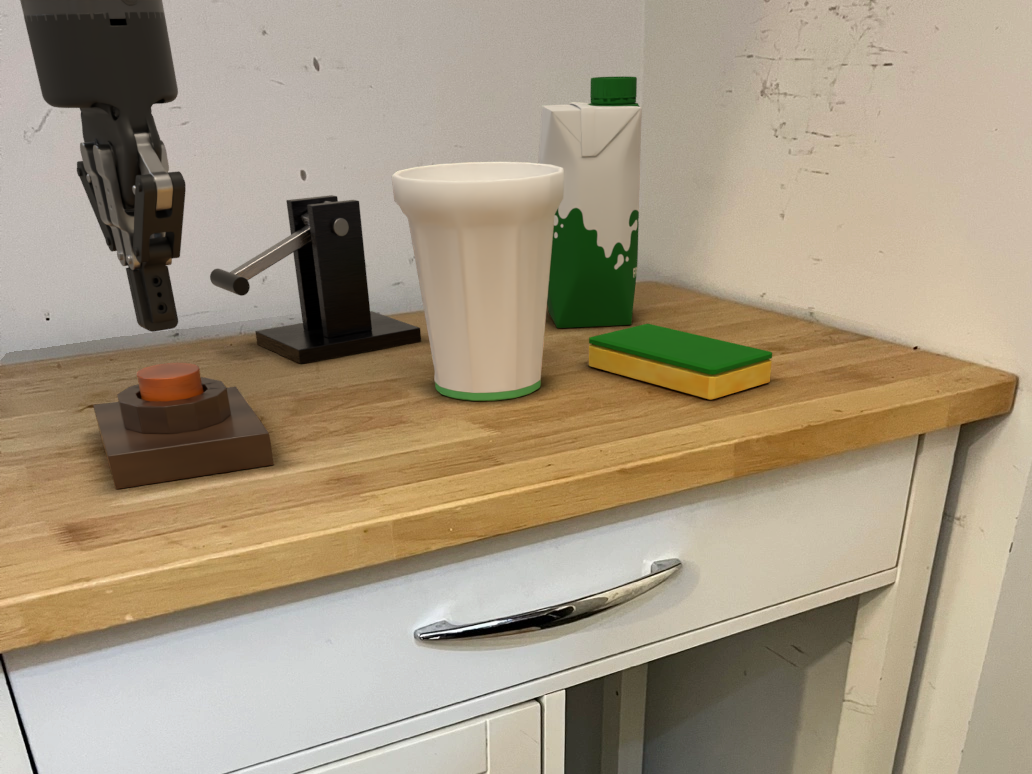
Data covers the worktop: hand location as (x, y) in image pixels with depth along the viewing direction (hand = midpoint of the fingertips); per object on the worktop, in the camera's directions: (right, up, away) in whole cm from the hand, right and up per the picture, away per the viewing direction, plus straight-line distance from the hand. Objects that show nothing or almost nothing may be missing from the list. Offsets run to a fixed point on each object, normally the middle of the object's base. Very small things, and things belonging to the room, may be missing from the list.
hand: (159, 327), depth 70 cm
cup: (+20, +1, +16) cm, 26 cm away
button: (0, -4, +3) cm, 5 cm away
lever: (+3, +14, +23) cm, 27 cm away
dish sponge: (+36, +2, +18) cm, 40 cm away
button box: (0, -7, +4) cm, 8 cm away
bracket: (+6, +9, +29) cm, 31 cm away
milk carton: (+29, +13, +35) cm, 47 cm away
